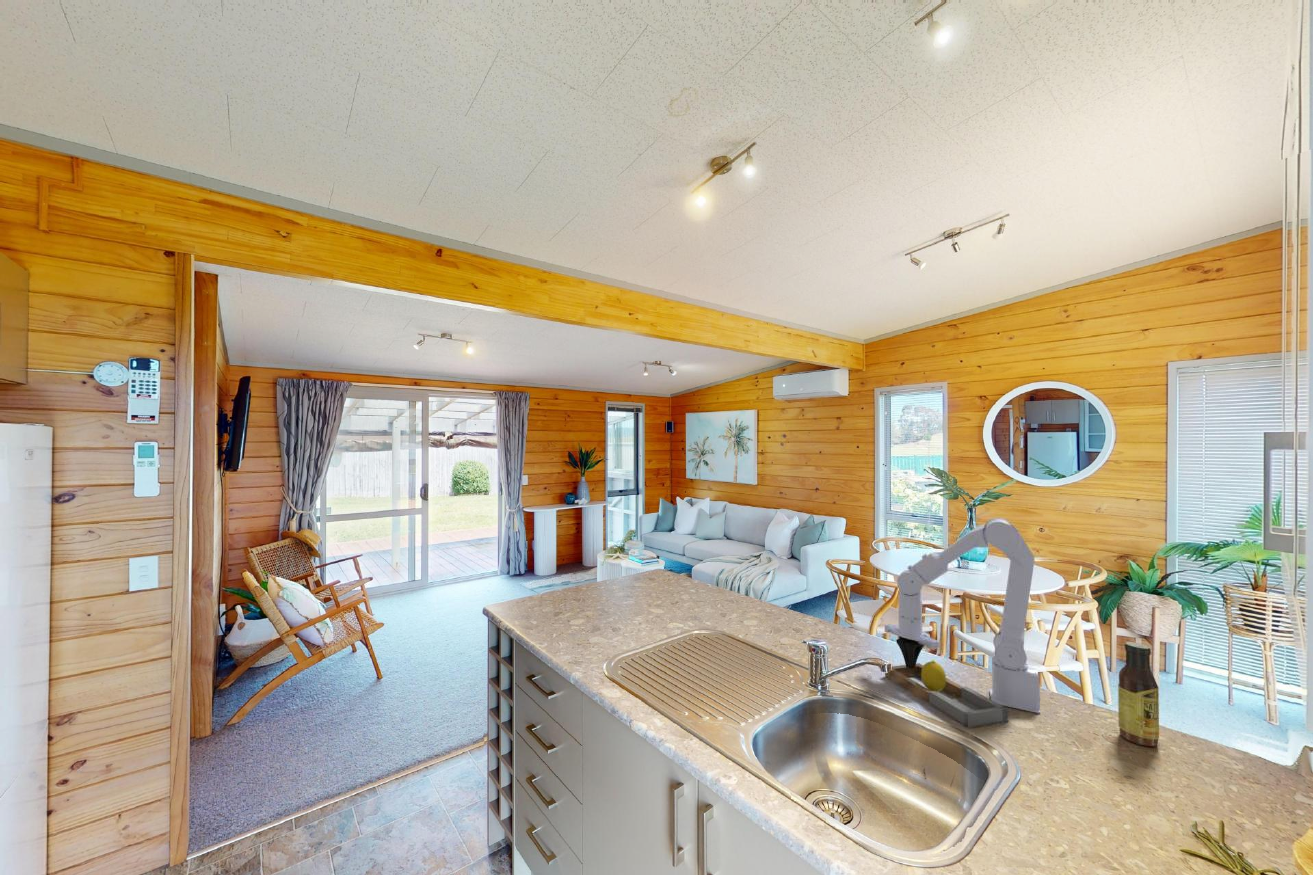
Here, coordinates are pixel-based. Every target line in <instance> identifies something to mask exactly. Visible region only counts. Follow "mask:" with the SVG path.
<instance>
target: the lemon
mask: <svg viewBox="0 0 1313 875" xmlns="http://www.w3.org/2000/svg"><path fill="white" fill-rule="evenodd" d="M946 674H947V673H946V672H945V670H944V668H943V667H942V665H940V664H939V663H938V662H937V661H935V660H932V661H928V662H926V663H924V665H923V668H922V672H921V676H920V677H921V681H922V684H923V686H924V687H925V688H927V689H929V690H930V691H936V692H937V693H939V692H941V691H943V690H944V687H945V685H946V678H947V675H946Z"/></svg>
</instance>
